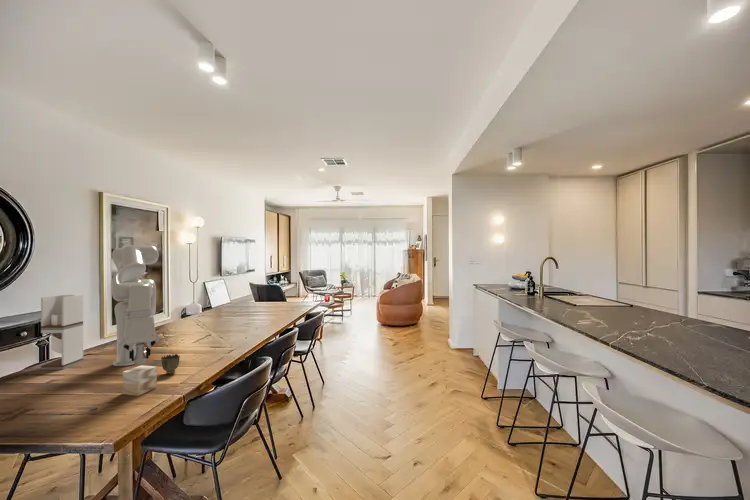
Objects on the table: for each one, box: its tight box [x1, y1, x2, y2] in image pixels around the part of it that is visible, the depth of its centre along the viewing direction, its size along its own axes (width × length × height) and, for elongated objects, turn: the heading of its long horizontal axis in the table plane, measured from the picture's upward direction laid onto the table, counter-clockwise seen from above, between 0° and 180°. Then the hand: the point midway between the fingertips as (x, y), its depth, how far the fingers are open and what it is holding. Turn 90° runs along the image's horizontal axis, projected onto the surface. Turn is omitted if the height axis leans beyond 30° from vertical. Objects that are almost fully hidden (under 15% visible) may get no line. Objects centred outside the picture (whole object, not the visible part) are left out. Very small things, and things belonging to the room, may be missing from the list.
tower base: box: [122, 377, 158, 397], centre depth 136 cm, size 8×8×4 cm
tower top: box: [122, 364, 158, 385], centre depth 136 cm, size 8×8×4 cm
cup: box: [161, 353, 181, 375], centre depth 156 cm, size 8×7×8 cm
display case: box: [40, 294, 84, 371], centre depth 168 cm, size 11×11×35 cm
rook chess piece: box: [133, 342, 148, 365], centre depth 136 cm, size 4×4×8 cm
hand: (140, 358), depth 136 cm, fingers closed on rook chess piece, 4 cm apart
